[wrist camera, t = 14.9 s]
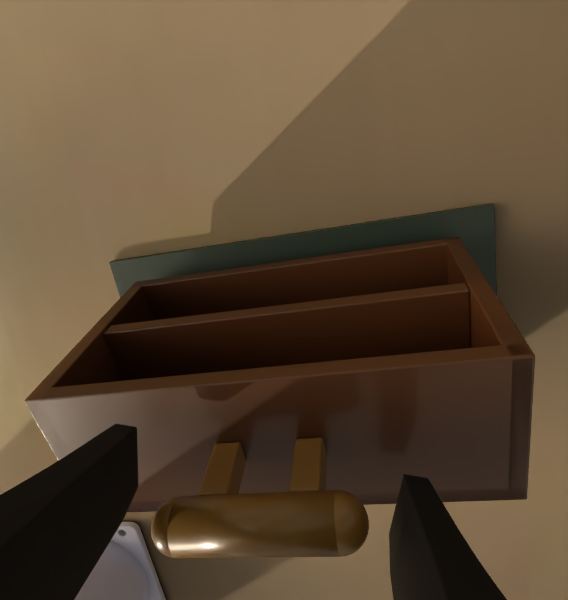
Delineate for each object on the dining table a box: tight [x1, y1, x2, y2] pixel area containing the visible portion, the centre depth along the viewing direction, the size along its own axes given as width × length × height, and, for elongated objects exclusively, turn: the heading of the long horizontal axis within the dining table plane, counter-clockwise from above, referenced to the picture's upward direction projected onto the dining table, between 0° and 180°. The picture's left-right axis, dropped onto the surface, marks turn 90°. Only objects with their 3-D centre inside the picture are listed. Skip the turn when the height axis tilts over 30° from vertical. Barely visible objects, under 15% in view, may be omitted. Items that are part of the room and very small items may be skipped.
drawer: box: [25, 237, 535, 558], centre depth 15 cm, size 5×14×11 cm, turn 100°
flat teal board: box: [109, 203, 497, 298], centre depth 21 cm, size 7×17×1 cm, turn 100°
